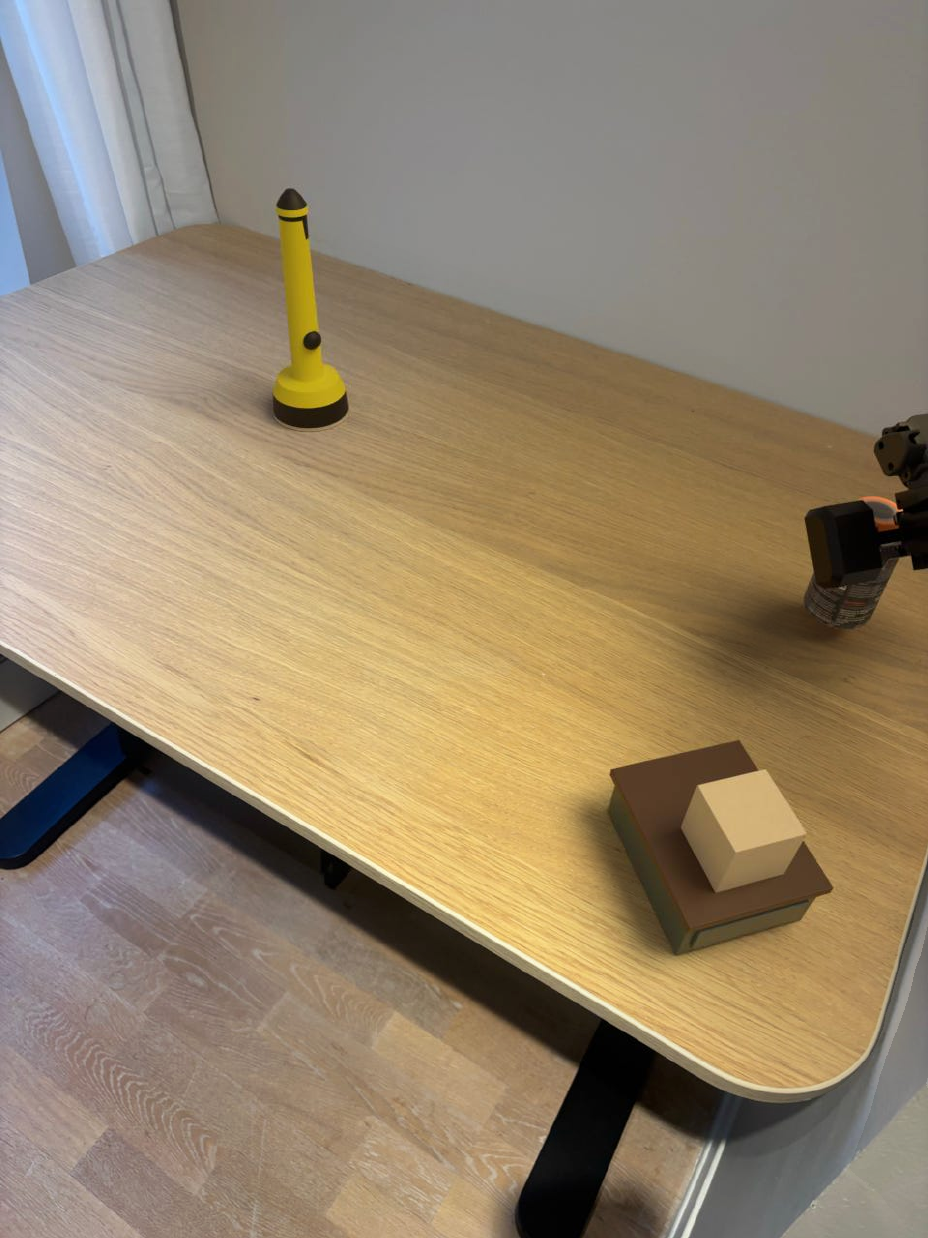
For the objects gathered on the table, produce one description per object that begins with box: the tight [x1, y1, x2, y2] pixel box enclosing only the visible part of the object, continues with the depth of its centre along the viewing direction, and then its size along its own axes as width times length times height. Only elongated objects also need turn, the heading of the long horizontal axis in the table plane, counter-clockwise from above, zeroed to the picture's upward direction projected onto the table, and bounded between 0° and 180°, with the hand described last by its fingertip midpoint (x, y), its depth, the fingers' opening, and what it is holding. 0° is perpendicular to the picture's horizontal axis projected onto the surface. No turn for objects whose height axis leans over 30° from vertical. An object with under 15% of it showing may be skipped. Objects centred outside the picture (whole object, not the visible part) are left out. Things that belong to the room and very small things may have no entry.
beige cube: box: [681, 768, 808, 893], centre depth 56 cm, size 5×5×5 cm
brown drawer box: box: [607, 739, 834, 957], centre depth 61 cm, size 12×10×5 cm
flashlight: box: [272, 187, 350, 433], centre depth 95 cm, size 25×9×9 cm
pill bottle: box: [803, 495, 903, 630], centre depth 75 cm, size 6×6×11 cm
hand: (851, 543), depth 76 cm, fingers closed on pill bottle, 6 cm apart
